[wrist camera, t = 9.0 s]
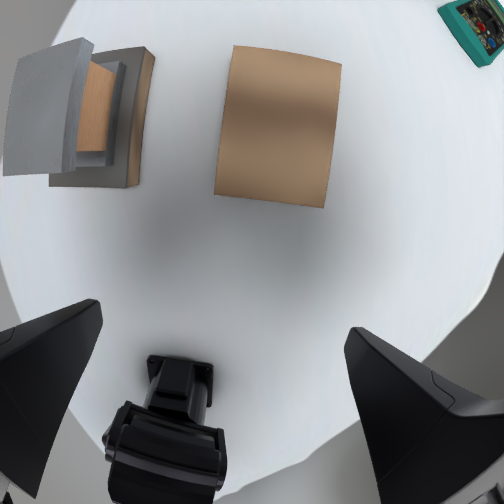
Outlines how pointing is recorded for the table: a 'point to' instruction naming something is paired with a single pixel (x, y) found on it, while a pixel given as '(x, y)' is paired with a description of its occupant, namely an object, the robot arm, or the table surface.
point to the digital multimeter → (476, 27)
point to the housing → (62, 111)
